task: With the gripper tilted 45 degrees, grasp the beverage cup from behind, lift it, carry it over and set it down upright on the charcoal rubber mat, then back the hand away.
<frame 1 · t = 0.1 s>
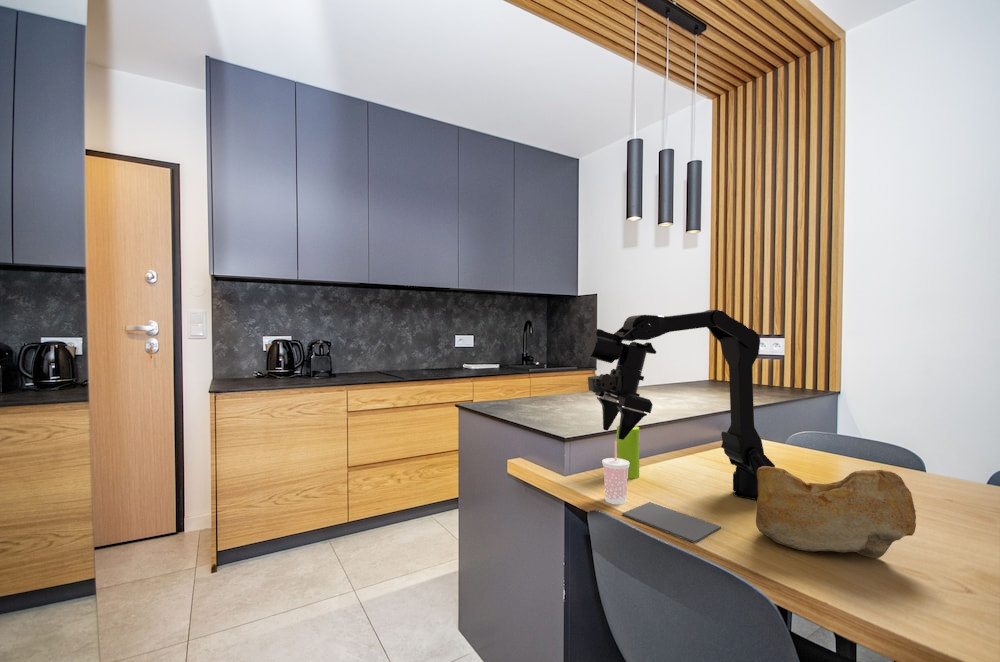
hand: (612, 434, 101), 15 cm above the table, tool pointing down, fingers open, 9 cm apart
rough brown rock: (824, 542, 82), on the table
soap dispenser: (628, 475, 120), on the table
mat: (670, 521, 91), on the table
beverage cup: (615, 501, 102), on the table
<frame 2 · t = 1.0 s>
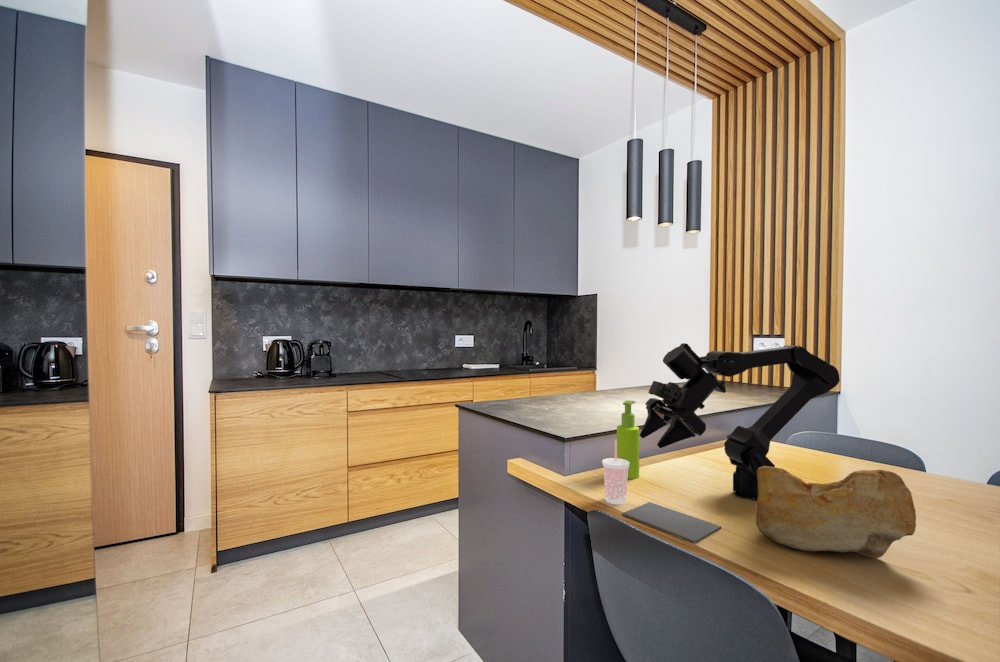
hand: (649, 441, 103), 13 cm above the table, tool tilted 45°, fingers open, 9 cm apart
nothing on the table moved.
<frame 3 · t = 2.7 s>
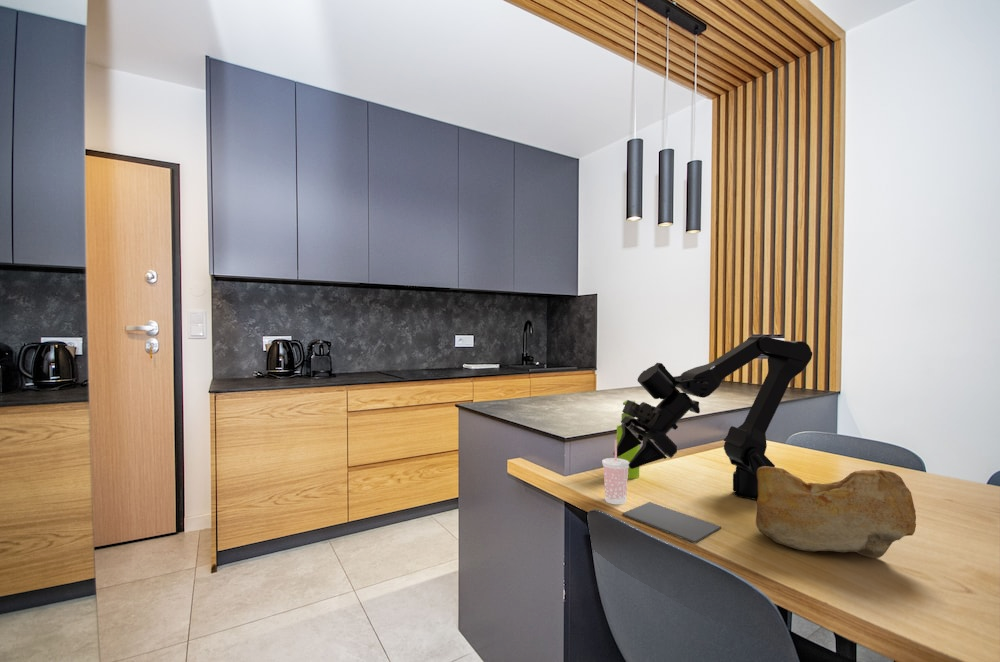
hand: (621, 461, 102), 9 cm above the table, tool tilted 45°, fingers open, 9 cm apart
nothing on the table moved.
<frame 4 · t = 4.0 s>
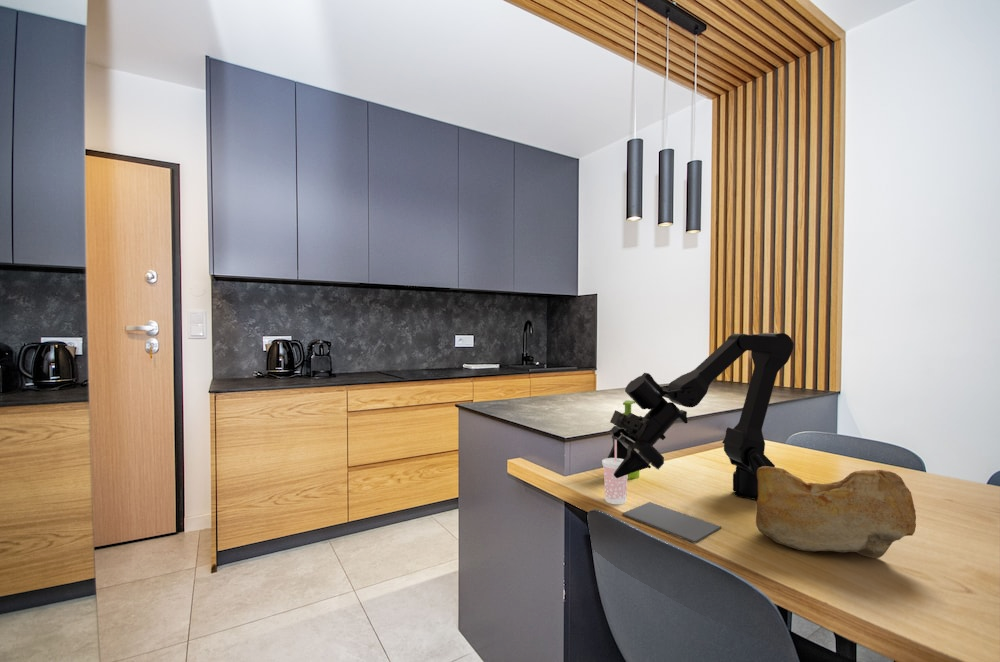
hand: (609, 472, 102), 7 cm above the table, tool tilted 45°, fingers closed on beverage cup, 6 cm apart
beverage cup: (615, 501, 102), on the table, touching gripper
everything else where it was.
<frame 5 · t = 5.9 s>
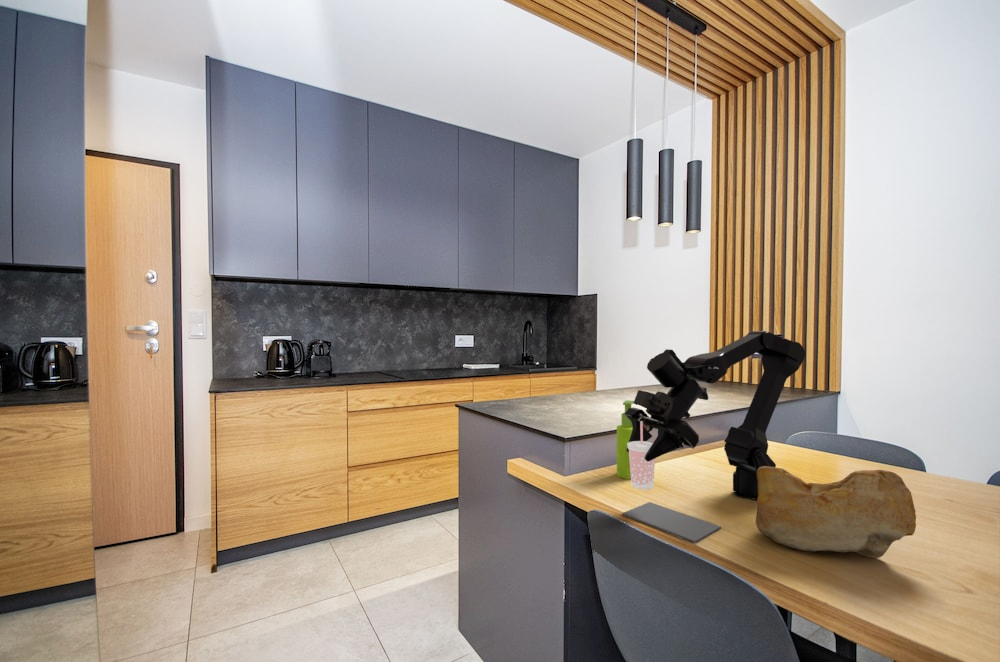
hand: (636, 455, 95), 12 cm above the table, tool tilted 45°, fingers closed on beverage cup, 6 cm apart
beverage cup: (642, 486, 96), point 5 cm above the table, touching gripper
everything else where it was.
when the fingers open (8 cm above the table, at t = 7.6 s): beverage cup drops 1 cm, resting on mat.
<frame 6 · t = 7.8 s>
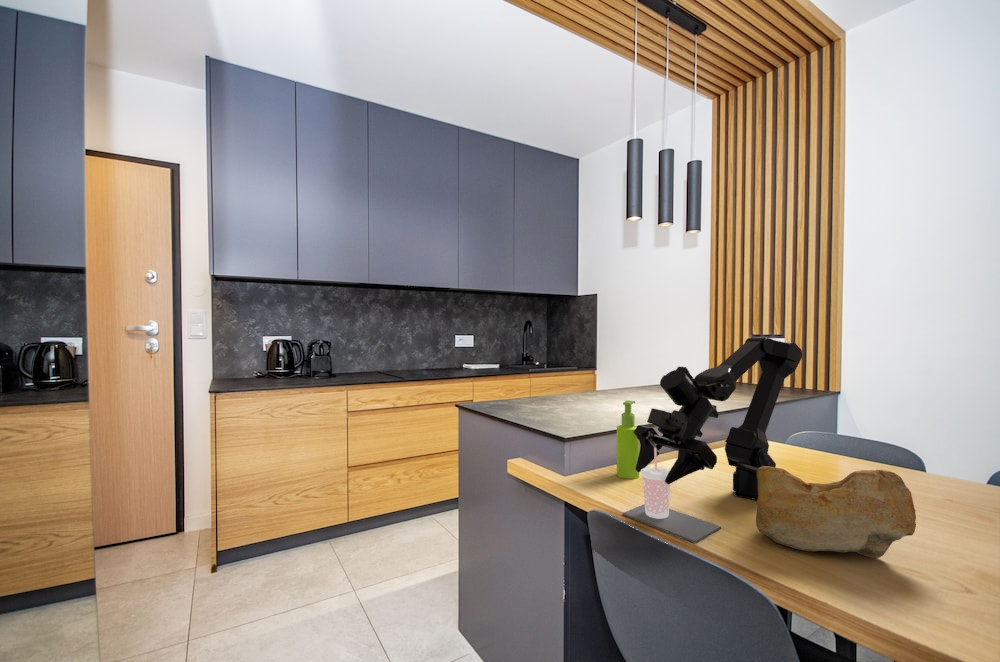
hand: (651, 476, 93), 9 cm above the table, tool tilted 45°, fingers open, 8 cm apart
beverage cup: (656, 514, 93), resting on mat
everything else where it was.
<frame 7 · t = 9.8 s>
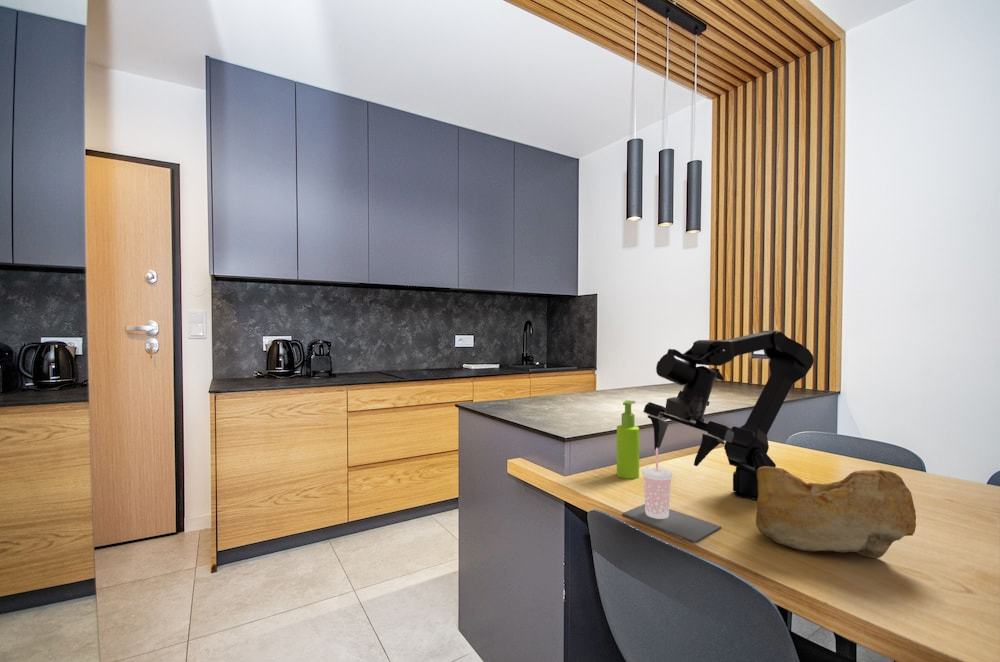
hand: (675, 457, 99), 11 cm above the table, tool tilted 20°, fingers open, 9 cm apart
nothing on the table moved.
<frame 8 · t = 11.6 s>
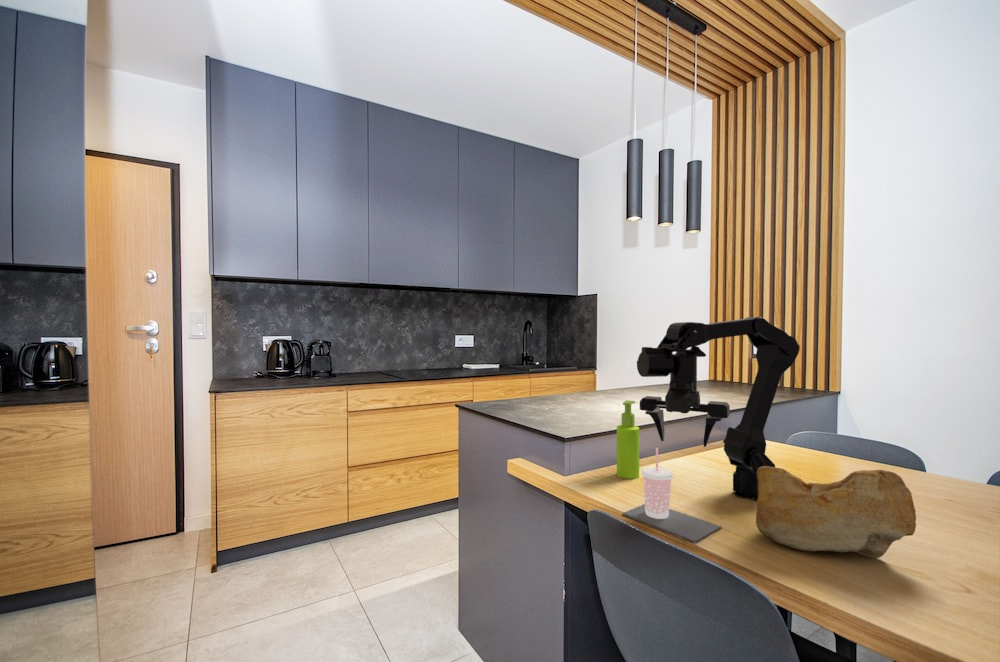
hand: (683, 443, 102), 13 cm above the table, tool pointing down, fingers open, 9 cm apart
nothing on the table moved.
at the end: beverage cup inside the target area on the mat (3.0 cm from its centre), point 0.2 cm above the mat's base; beverage cup tilted 0°; the gripper is holding nothing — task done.
